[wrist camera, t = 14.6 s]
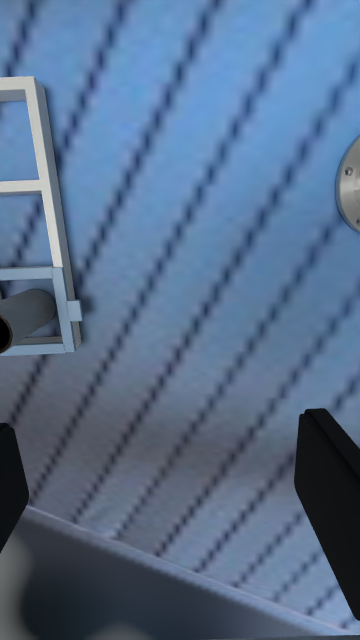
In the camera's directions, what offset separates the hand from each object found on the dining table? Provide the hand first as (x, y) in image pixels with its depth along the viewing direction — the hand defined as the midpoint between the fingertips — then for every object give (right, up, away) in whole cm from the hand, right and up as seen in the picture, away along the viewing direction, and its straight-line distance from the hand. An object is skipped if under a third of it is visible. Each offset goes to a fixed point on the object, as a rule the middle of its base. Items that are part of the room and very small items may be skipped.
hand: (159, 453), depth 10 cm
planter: (-17, +6, +28) cm, 33 cm away
